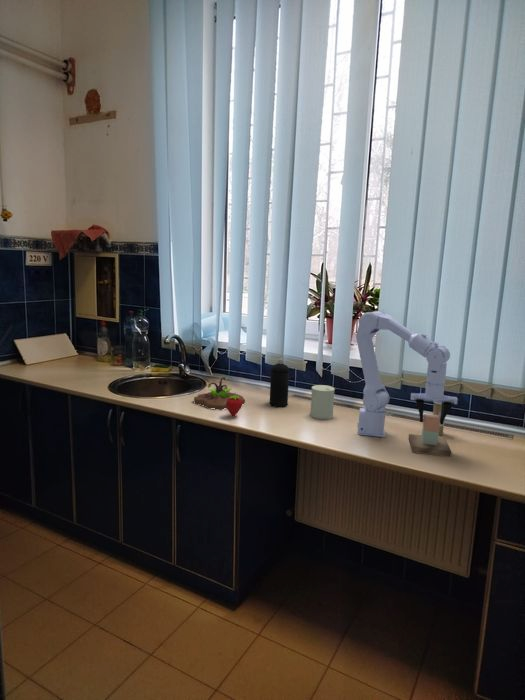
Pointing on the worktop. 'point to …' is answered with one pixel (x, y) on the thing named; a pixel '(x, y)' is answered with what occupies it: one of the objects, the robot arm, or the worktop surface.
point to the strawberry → (234, 404)
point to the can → (322, 402)
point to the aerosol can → (279, 384)
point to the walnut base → (429, 446)
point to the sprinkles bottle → (438, 412)
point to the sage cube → (429, 437)
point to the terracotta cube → (431, 423)
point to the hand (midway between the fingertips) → (431, 422)
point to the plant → (216, 396)
